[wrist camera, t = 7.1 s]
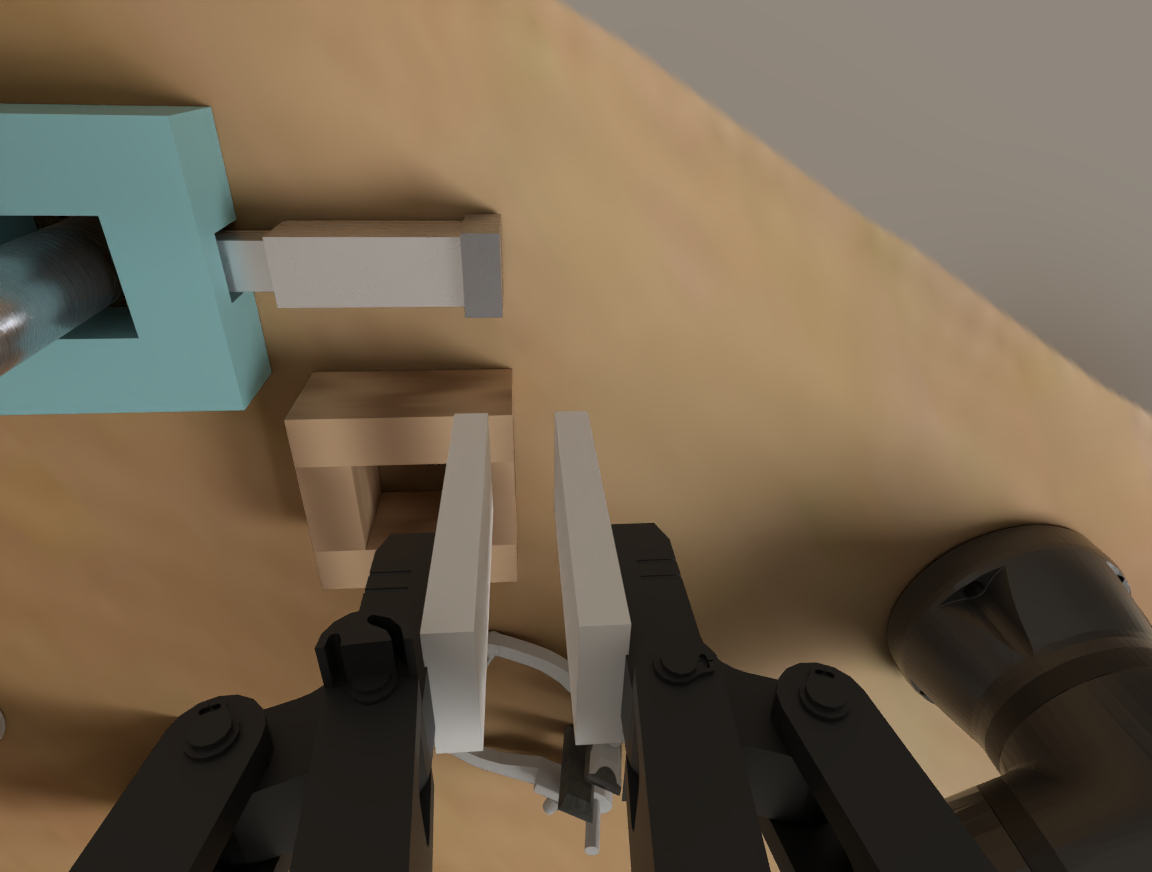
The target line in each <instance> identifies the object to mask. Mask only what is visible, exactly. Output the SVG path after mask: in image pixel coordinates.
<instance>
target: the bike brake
mask: <svg viewBox="0 0 1152 872" xmlns="http://www.w3.org/2000/svg"><path fill="white" fill-rule="evenodd" d="M495 656H499V657H502V658H506V659H509V660H512V661H515V662H518V663H522V664H525V665H528V666H530V667H533V668H535V669H537V670H540V671H542V672H543V673H545V674H547V675H548V676H550V677H551V678H553V679H554V680H556V681H558V682H559V683H560V684H561V685H562V686H563V687H564V688H565V689H566V690H567V691H568V692H569V693H570V694H571V689H570V678H569V667H568V660H566V659H565V658H563V657H562V656H560V655H558V654H556V653H554V652H552V651H550V650H548V649H545V648H543V647H540V646H538V645H535V644H532V643H529V642H526V641H523V640H520V639H516V638H513V637H510V636H506V635H502V634H500V633H498V632H496V631H491V632H488V646H487V658H488V657H489V660H488V661H487V667H488V665H489V664H490V663H491V661H492V660H493V658H494V657H495ZM622 742H624V743H625V740H624V734H623V728H622V736H621V743H604V744H588V745H575V734H574V726H571V725H567V726H566V728H565V732H564V743H563V754H562V765H560V764H558V763H556V762H553V761H551V760H549V759H547V758H544V757H542V756H536V755H526V754H516V753H507V752H501V751H497V750H494V749H490V748H487V747H484V746H483V751H474V752H457V753H450V754H452V755H454V756H456V757H457V758H459V759H461V760H463V761H465V762H467V763H469V764H471V765H473V766H476V767H478V768H481V769H484V770H487V771H491V772H494V773H498V774H501V775H504V776H507V777H511V778H515V779H518V780H521V781H525V782H528V783H531V784H534V792H535V793H538V794H540V795H543V796H545V797H547V799H546V800H545V802H544V804H543V809H544V811H545V813H547V814H549V815H551V814H553V813H554V812H555V811H557V810H561V811H563V812H565V813H568V814H570V815H572V816H575V817H577V818H580V819H582V820H584V821H586V833H585V852H586V853H587V854H589V855H596V854H598V853H599V840H600V814H603V813H607V812H608V811H610V810H611V808H612V794H613V793H614V794H616V795H618V796H619V795H620V791H621V744H622ZM434 747H435V742H434Z"/></svg>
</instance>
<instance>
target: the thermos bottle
mask: <svg viewBox="0 0 1152 872" xmlns="http://www.w3.org/2000/svg"><path fill="white" fill-rule="evenodd" d="M4 731H5V719H4V716H3V713H2V712H1V711H0V739H1V738H2V737H3V734H4Z"/></svg>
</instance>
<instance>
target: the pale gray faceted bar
mask: <svg viewBox="0 0 1152 872" xmlns="http://www.w3.org/2000/svg"><path fill="white" fill-rule="evenodd" d="M214 234H215V238H216V242H217V246H218V250H219V254H220V258H221V262H222V266H223V270H224V274H225V278H226V282H227V286H228V290H229V292H274V293H275V298H276V303H277V307H278V308H336V307H463V306H465V318H499V317H503V265H502V237H501V214H465V216H464V220H463V221H363V220H284V221H283V222H281V223H280V224H279V225H277V226H276V227H275V228H274V229H272V230H271V231H258V230H219V231H217V232H216V233H214Z"/></svg>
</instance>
